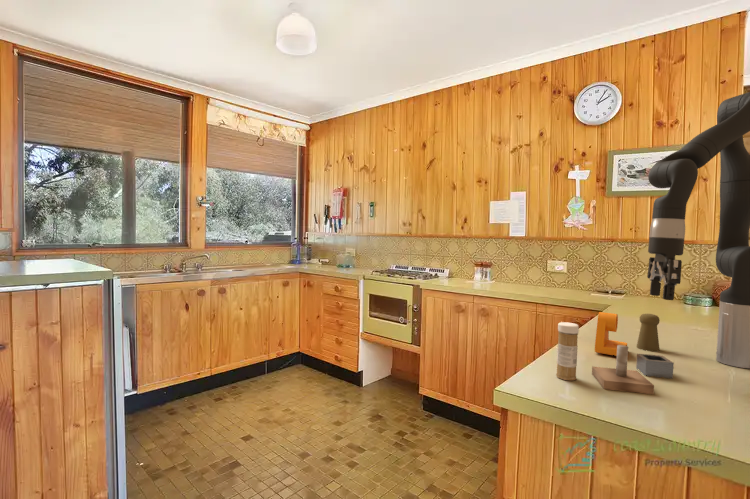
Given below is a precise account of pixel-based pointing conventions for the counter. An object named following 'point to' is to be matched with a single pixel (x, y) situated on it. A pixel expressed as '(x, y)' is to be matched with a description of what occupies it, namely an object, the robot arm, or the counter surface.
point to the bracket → (606, 334)
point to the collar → (655, 365)
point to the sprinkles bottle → (567, 351)
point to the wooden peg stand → (622, 376)
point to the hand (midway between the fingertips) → (661, 297)
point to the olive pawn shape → (648, 333)
